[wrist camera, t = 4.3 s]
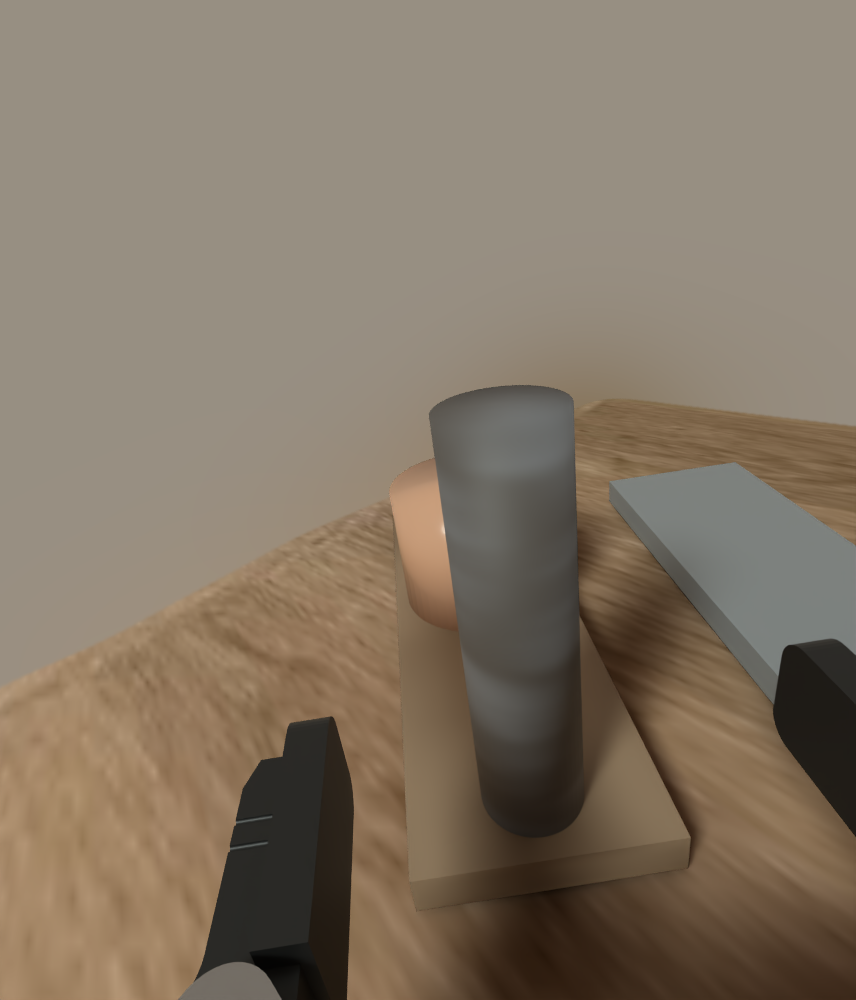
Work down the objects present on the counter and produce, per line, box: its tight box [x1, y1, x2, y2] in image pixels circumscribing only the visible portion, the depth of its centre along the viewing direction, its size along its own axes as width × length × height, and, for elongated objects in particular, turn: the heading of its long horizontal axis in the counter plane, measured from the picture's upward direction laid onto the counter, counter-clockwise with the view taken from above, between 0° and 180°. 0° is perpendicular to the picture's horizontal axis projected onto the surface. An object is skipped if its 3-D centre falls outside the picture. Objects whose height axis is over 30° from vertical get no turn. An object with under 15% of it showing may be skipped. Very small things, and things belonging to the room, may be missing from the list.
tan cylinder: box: [389, 458, 459, 631], centre depth 24 cm, size 6×6×5 cm
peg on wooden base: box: [393, 385, 691, 911], centre depth 22 cm, size 7×20×12 cm, turn 4°
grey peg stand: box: [609, 462, 856, 704], centre depth 22 cm, size 7×20×12 cm, turn 4°
